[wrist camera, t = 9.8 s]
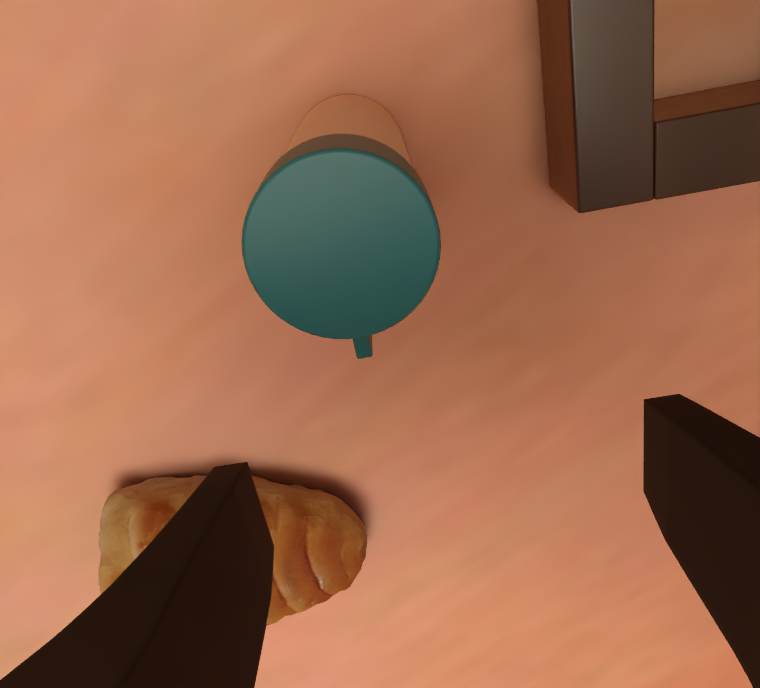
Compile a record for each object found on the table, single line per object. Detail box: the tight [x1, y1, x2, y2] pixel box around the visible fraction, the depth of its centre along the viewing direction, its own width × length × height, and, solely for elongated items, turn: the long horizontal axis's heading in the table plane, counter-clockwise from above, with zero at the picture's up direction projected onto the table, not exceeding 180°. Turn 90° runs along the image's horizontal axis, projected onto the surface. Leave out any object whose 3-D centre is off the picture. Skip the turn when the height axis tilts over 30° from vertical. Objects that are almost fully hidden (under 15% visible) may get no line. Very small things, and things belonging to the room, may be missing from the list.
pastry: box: [99, 475, 367, 625], centre depth 24 cm, size 9×7×4 cm
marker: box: [242, 95, 441, 359], centre depth 16 cm, size 3×4×9 cm
